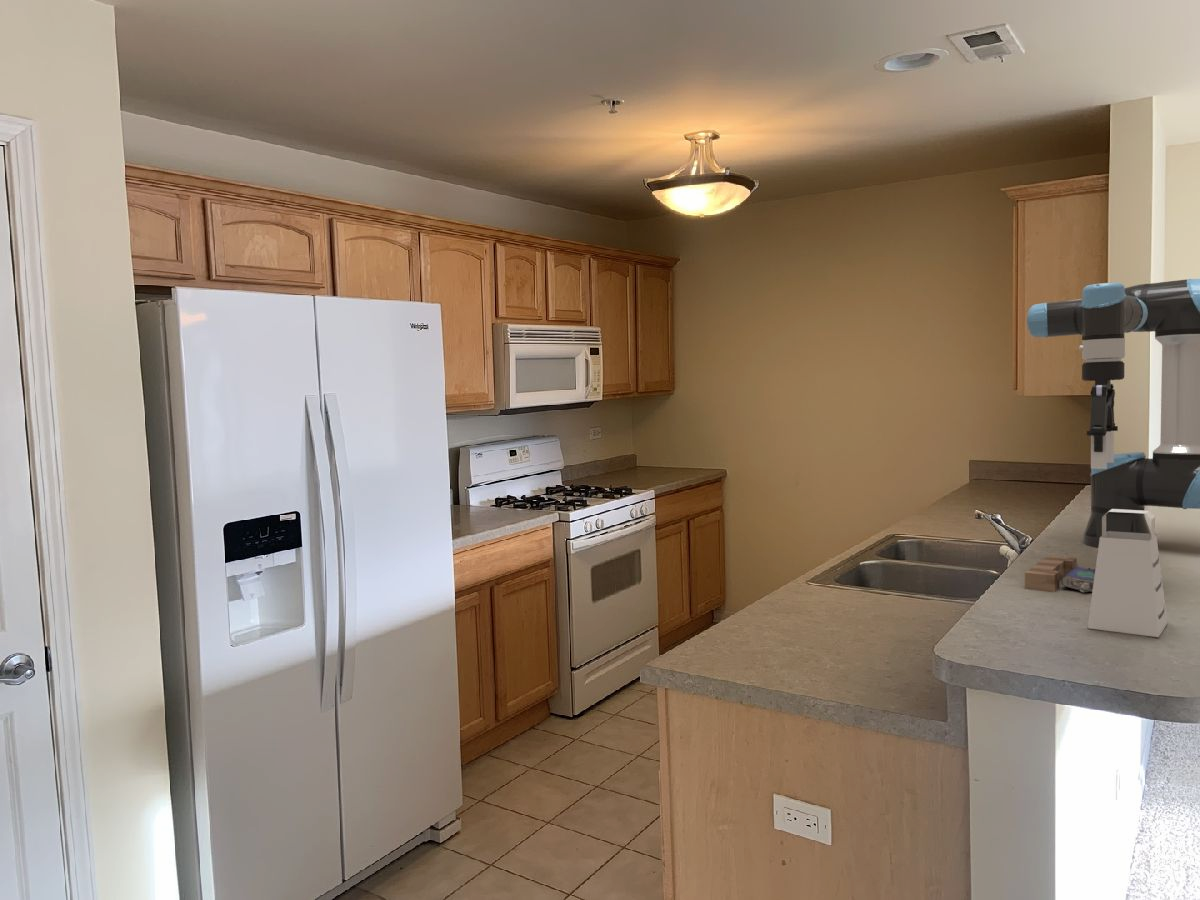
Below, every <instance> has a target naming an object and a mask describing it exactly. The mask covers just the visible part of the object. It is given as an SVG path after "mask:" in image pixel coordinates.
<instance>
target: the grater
mask: <svg viewBox="0 0 1200 900" xmlns="http://www.w3.org/2000/svg"><path fill="white" fill-rule="evenodd" d="M1108 512H1124V513H1143V514H1144V515H1145V516H1147V517H1148V518H1149V520H1151V528H1150V529H1151V530H1150V532H1151V534H1146V533H1130V532H1115V531H1108V532H1106V514H1107V513H1108ZM1108 512H1107V513H1106V514H1105V515H1104V516H1103V517H1102V536H1101V537H1100V540H1099V547H1098V548H1097V556H1096V562H1095V563H1096V564H1095V568H1094V569H1095V576H1094V584H1093V591H1092V592H1091V600H1090V607H1089V614H1088V621H1087V622H1088V623H1087V629H1091V630H1099V631H1100V630H1101V631H1106V632H1115V633H1116V632H1117V633H1121V634H1122V633H1123V634H1131V635H1137V636H1139V635H1140V636H1147V637H1155V638H1159V637H1160V636H1161V634H1162V632H1164V629H1165V628H1166V626H1167V624H1168V616H1167V607H1166V601H1165V592H1164V584H1163V577H1162V568H1161V559H1160V553H1159V547H1158V546H1159V545H1158V536H1157V533H1156V529H1155V527H1156V525H1155V524H1156V517H1155V516H1154V514H1153V513H1151V511H1149V510H1144V511H1143V510H1123V509H1111V510H1110V511H1108Z"/></svg>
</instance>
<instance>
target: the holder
mask: <svg viewBox="0 0 1200 900" xmlns="http://www.w3.org/2000/svg"><path fill="white" fill-rule="evenodd" d="M1076 566H1078V558H1077V557H1074V556H1063V555H1048V556H1046V557H1045V558H1044V559H1042V560H1040V562H1038V563H1037V564H1035V565H1034V566H1032V567H1030V568H1029V569H1027V571H1026V570H1025V572H1024V589H1025V590H1033V591H1042V592H1050V593H1052V592H1053V593H1055V592H1056V591H1057V590H1058V589H1060V581H1061V577H1063V576H1064V575H1066V574H1067V573H1068V572H1069V571H1071V570H1072V568H1074V567H1076Z"/></svg>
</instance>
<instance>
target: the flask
mask: <svg viewBox="0 0 1200 900" xmlns="http://www.w3.org/2000/svg"><path fill="white" fill-rule="evenodd" d="M1095 569H1096V568H1090V567H1089V568H1086V567H1082V566H1078V565H1077V566H1076V567H1074V568H1072V570H1071V571H1069V572H1068V573H1067V574H1066V575H1064V576H1063V577H1061V579H1060V581H1061V584H1062V585H1063V586H1064V587H1066V588H1070V589H1073V590H1078V591H1080V592H1081V593H1085V592H1086V593H1087V592H1091V593H1092V591H1093V584H1094V576H1095Z"/></svg>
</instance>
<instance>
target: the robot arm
mask: <svg viewBox="0 0 1200 900" xmlns="http://www.w3.org/2000/svg"><path fill="white" fill-rule="evenodd" d="M1081 293H1082V294H1081V298H1079V299H1071V300H1062V301H1053V302H1052V301H1051V302H1042V303H1037V304H1036V303H1035V304H1033V305H1032V306H1031V307H1030V308H1029V309H1028V312H1027V316H1026V325H1027V330H1028V332H1029V334H1030V335H1031V336H1032V337H1034V338H1053V337H1055V338H1056V337H1064V336H1065V337H1066V336H1077V335H1078V336H1079V335H1081V340H1082V341H1081V343H1082V345H1081V344H1080V345H1079V346H1078V350H1079V351H1081V352H1082V353H1081V354H1082V355H1081V356H1082V357H1081V359H1082V360H1083V361H1085V362H1083V363H1082V364H1081V380H1083V382H1084V381H1085V382H1088V381H1089V382H1091V381H1093V382H1094V384H1092V386H1091V390H1090V399H1091V401H1090V405H1091V406H1090V407H1091V409H1090V425H1089V430H1086V436H1088V437H1089V436H1090V469H1091V470H1090V471H1091V472H1090V474H1089V476H1090V517H1089V518H1088V521H1087V523H1086V527H1085V530H1084V532H1083V535H1082V540H1083V541H1082V543H1083V544H1084V545H1085V546H1087V547H1091V548H1097V549H1098V547H1099V540H1100V537H1101V536H1102V517H1103V516H1104V515H1105V514H1106V513H1107V512H1108V511H1110V510H1111V509H1123V510H1143V511H1145V507H1146V506H1149V507H1159V508H1161V507H1162V508H1174V509H1175V508H1176V509H1183V510H1187V509H1192V510H1193V509H1196V510H1197V509H1198V510H1199V509H1200V278H1186V279H1180V280H1179V279H1178V280H1172V281H1171V280H1170V281H1163V282H1161V281H1160V282H1153V283H1142V284H1136V285H1131V286H1128V287H1125V285H1124V284H1123V283H1122V282H1104V283H1102V282H1100V283H1094V284H1088V285H1086V286H1084V287H1083V289H1082V292H1081ZM1132 332H1133V333H1145V332H1147V333H1150V332H1154V339H1155V340H1156V341H1157V342H1158V343H1160V345H1161V348H1162V349H1161V391H1160V393H1161V395H1160V396H1161V397H1160V401H1161V402H1160V440H1159V441H1160V442H1159V446H1157V447H1156V448H1155V449H1154V450H1153V451H1152V458H1148V457H1147V458H1146V456H1147V455H1146V454H1145V453H1144V452H1142V451H1140V452H1139V451H1138V452H1125V453H1117V454H1116V453H1115V432H1118V429H1119V426H1118V425H1116V423H1115V408H1114V407H1115V396H1116V391H1115V388H1114V384H1113V383H1111V381H1120V380H1123V379H1125V363H1124V361H1123V360H1122V359H1124V358H1125V355H1126V351H1125V350H1126V338H1125V333H1126V334H1129V333H1132ZM1149 527H1150V526H1149V525H1148V522H1147V519H1146V514H1143V513H1124V512H1108V513H1107V514H1106V532H1108V531H1115V532H1130V533H1146V534H1151V530H1150V528H1149Z"/></svg>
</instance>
